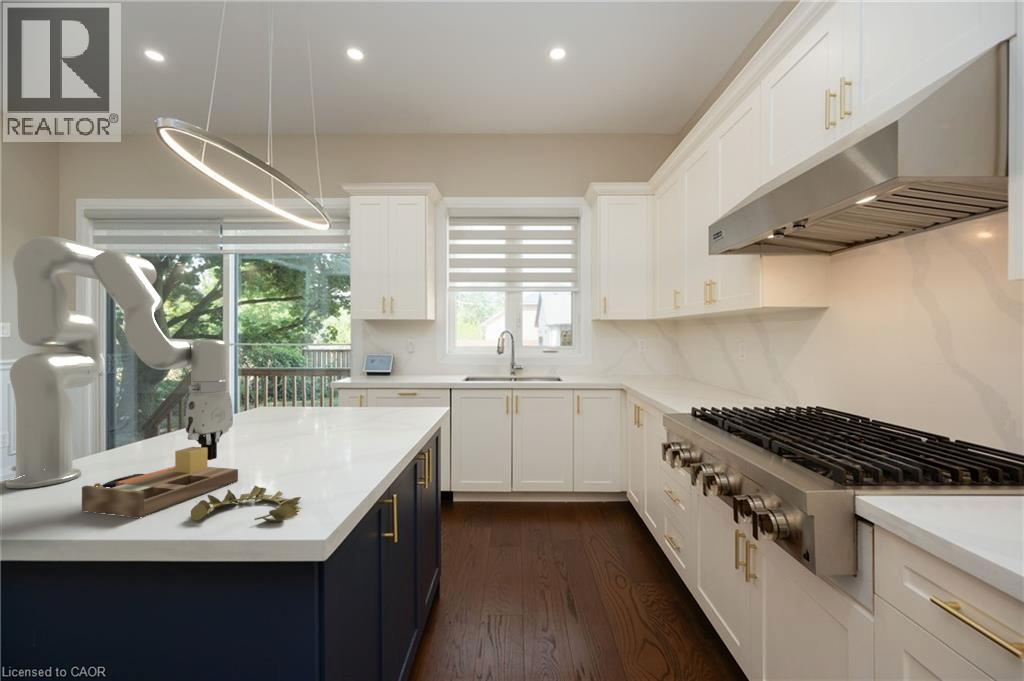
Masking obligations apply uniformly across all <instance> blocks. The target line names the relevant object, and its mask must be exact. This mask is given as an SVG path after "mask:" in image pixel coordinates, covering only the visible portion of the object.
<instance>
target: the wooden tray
mask: <svg viewBox="0 0 1024 681" xmlns="http://www.w3.org/2000/svg"><path fill="white" fill-rule="evenodd" d="M237 481H238V482H239V469H238V468H228V467H227V468H225V467H214V466H207V468H205V469H202V470H199V471H195V472H192V473H183V472H175V469H174V470H171V471H168V472H164V473H161V474H157V475H154V476H151V477H147V478H144V479H140V480H137V481H133V482H130V483H127V484H123V485H120V486H116V487H112V488H106V487H100V486H99V487H96V486H94V485H84V486H82V487H81V512H82V511H88V512H87V513H90V512H96V513H95V514H99V513H105V514H104V515H107V514H115V515H114V516H116V515H124V516H130V517H129V518H132V517H138V518H137V519H141V518H140V517H142V518H144V516H145V517H147V516H150V515H152V513H153V514H155V513H158V512H161V511H163V510H166V509H169V508H171V507H174V506H176V505H178V504H182V503H184V502H187V501H190V500H193V499H196V498H197V497H201V496H203V495H205V494H209V493H211V492H213V491H216V490H220V489H221V488H224V487H226V486H227V487H228V486H229V484H230V485H232V484H235V483H238V482H237ZM234 482H235V483H234ZM231 483H232V484H231ZM160 510H161V511H160ZM149 514H150V515H149ZM146 515H147V516H146ZM124 516H123V517H124Z"/></svg>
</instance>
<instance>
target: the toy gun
mask: <svg viewBox="0 0 1024 681" xmlns="http://www.w3.org/2000/svg"><path fill="white" fill-rule="evenodd" d="M174 469H175V466H171V467H167V468H164V469H161V470H157V471H154V472H149V473H145V474H144V473H133V474H130V475H125V476H122V477H119V478H115V479H112V480H110V481H108V482H105V483H103V484H101V483H100V482H97V483H94V485H93V486H99V487H100V486H101V487H112V488H113V487H116V486H120V485H123V484H127V483H130V482H133V481H137V480H140V479H144V478H147V477H151V476H154V475H157V474H161V473H164V472H168V471H171V470H174Z"/></svg>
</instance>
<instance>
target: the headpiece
mask: <svg viewBox="0 0 1024 681" xmlns="http://www.w3.org/2000/svg"><path fill="white" fill-rule="evenodd" d="M266 491H267V488H265V487H259V486H257V485H254V486H253V488H252V490H251V491H250V492H249V493H242V494H240V497H239V498H237V497H236V495H235V493H233V492H232V491H231V490H230V489H227V494H225V497H224V498H223V500H222V501H221V500H220V499H219V498H217V497H216V496H213V495H211V494H207V495H206V497H207V499H208V500H209V501H207V500H205V499H201V500H200V501H199V502H198V501H195V502H196V505H194V506H193V507H192V509H191V510H190V517H191V519H192V520H193V521H199V520H201V519H202V518H204V517H205V516H209V514H210V513H211V511H212V510H213V509H214V508H220V507H222V505H224V504H227V503H229V504H233V503H235V504H239V503H242V502H244V501H249V500H254V501H255V502H257V501H258V500H264V501H265V500H266V501H268V502H269V501H270V502H274V503H277V504H278V505H279V507H277V508H275V509H270V510H269V512H268V513H269V514H266V515H263V516H259V517H255V518H254V521H257V520H262V519H263V520H264V521H265V522H271V521H272V523H277V522H278V521H279V522H280V521H281V522H283V521H284V520H287V519H291V518H294V517H297V516H298V515H299V514H298V513H297V512H300V511H299V509H300V510H302V507H300V506H298V505H296V504H297V503H298V502H299V501H300V499H301V498H302V497H301V496H297V497H293V498H288V499H287V498H286V497H285V498H284V497H282V496H283V492H282V491H280V490H278V491H277V492H276V493H275V494H274V495H273V494H265V493H266ZM280 501H282V502H280ZM270 516H271V517H273V518H268V517H270ZM281 522H280V523H281Z"/></svg>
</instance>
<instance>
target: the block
mask: <svg viewBox="0 0 1024 681" xmlns="http://www.w3.org/2000/svg"><path fill="white" fill-rule="evenodd" d="M207 453H208V448H205V447H201V446H191V447H186V448H183V449H178V450H175V453H174V454H175V457H174V458H175V463H174V465H175V472H183V473H192V472H195V471H199V470H202V469H205V468H207V467H208V460H207Z"/></svg>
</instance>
